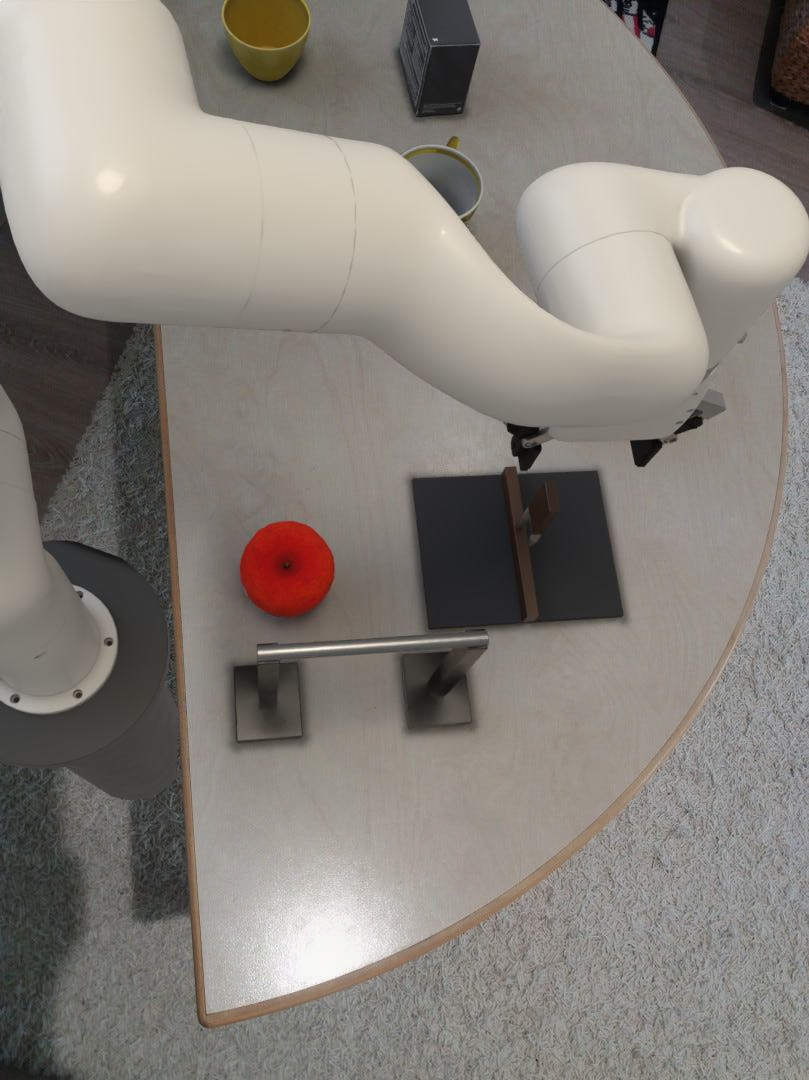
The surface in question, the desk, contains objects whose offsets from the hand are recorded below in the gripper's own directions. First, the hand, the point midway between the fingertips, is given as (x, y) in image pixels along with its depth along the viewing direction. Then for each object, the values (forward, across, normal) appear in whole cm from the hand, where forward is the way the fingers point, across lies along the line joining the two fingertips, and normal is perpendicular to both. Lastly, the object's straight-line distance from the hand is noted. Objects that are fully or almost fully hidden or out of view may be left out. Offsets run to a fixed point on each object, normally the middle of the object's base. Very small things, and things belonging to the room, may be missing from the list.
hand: (579, 452), depth 78 cm
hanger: (+16, -1, 0) cm, 17 cm away
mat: (+23, -1, 0) cm, 23 cm away
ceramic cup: (+23, +4, -39) cm, 46 cm away
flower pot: (+24, +21, -63) cm, 71 cm away
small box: (+23, +1, -61) cm, 65 cm away
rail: (+24, +17, +14) cm, 32 cm away
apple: (+24, +23, +3) cm, 33 cm away
